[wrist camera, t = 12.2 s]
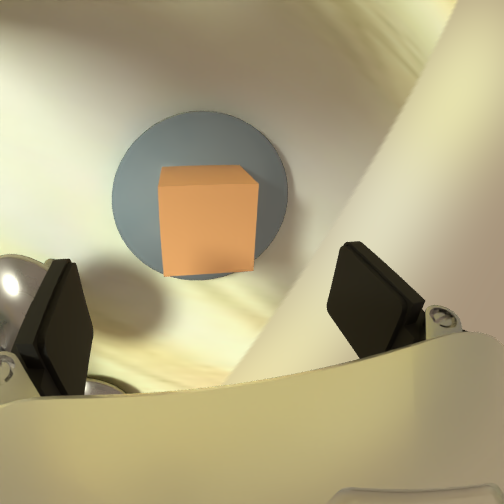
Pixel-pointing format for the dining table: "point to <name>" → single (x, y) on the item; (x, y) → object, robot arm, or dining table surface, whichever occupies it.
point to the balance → (18, 302)
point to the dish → (191, 154)
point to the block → (207, 219)
